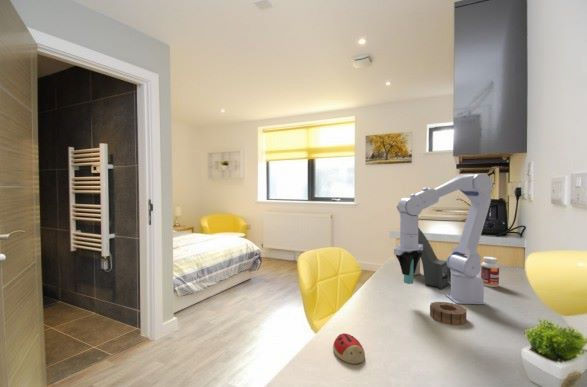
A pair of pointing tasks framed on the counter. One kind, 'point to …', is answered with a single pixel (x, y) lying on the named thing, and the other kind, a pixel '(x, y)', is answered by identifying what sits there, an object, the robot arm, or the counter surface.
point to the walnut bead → (448, 313)
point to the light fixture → (433, 265)
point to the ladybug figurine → (348, 349)
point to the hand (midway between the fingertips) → (408, 273)
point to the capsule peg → (409, 278)
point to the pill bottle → (490, 272)
